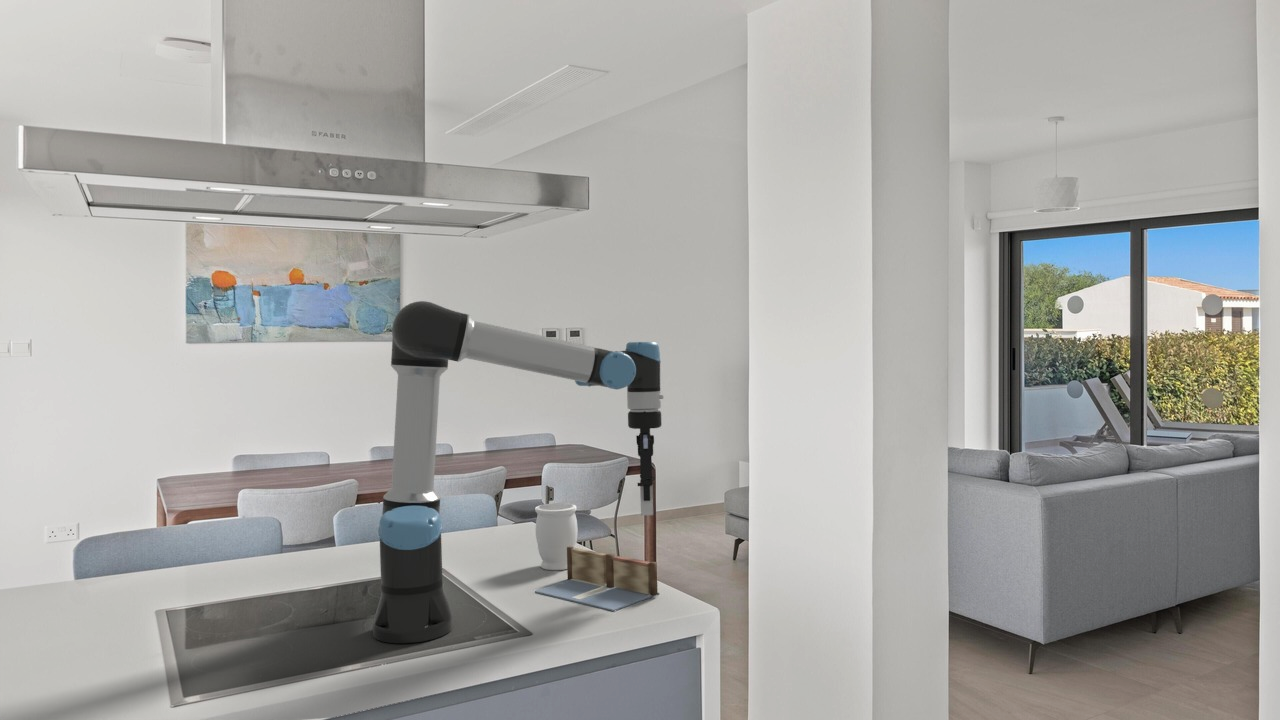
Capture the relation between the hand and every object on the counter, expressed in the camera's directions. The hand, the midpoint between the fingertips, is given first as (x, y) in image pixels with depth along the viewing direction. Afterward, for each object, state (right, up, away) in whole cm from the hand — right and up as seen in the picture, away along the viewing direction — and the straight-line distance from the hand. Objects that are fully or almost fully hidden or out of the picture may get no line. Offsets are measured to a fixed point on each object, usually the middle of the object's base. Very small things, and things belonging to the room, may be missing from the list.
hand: (646, 511), depth 197 cm
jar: (-22, -17, +20) cm, 35 cm away
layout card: (-11, -18, -4) cm, 21 cm away
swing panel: (-2, -17, -4) cm, 17 cm away
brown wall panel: (-13, -17, +4) cm, 22 cm away
